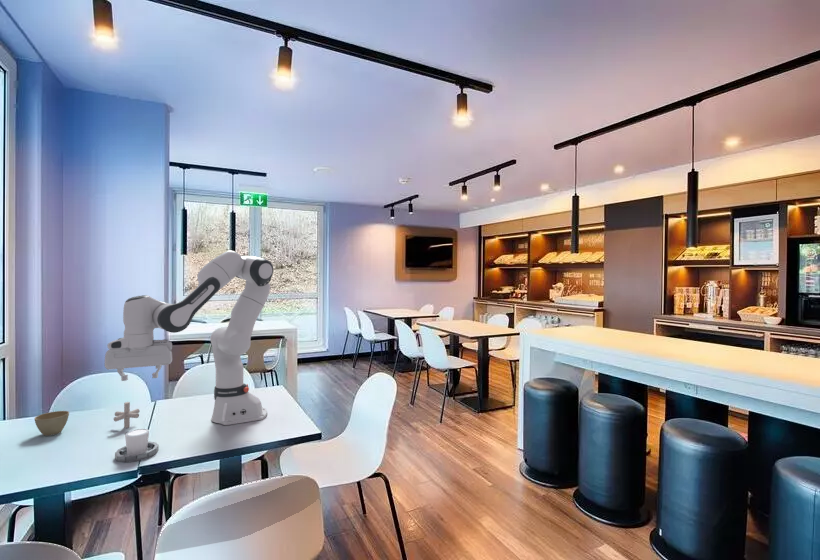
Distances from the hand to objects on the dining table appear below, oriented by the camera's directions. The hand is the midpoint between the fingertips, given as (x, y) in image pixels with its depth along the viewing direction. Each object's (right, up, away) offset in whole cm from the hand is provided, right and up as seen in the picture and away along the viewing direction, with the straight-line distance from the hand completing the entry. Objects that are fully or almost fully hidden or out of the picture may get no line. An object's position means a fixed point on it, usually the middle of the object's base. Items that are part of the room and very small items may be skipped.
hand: (140, 379), depth 143 cm
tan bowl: (-42, -24, +11) cm, 49 cm away
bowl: (+3, -24, -6) cm, 25 cm away
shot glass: (+3, -24, -6) cm, 25 cm away
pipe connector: (-18, -24, +18) cm, 35 cm away
